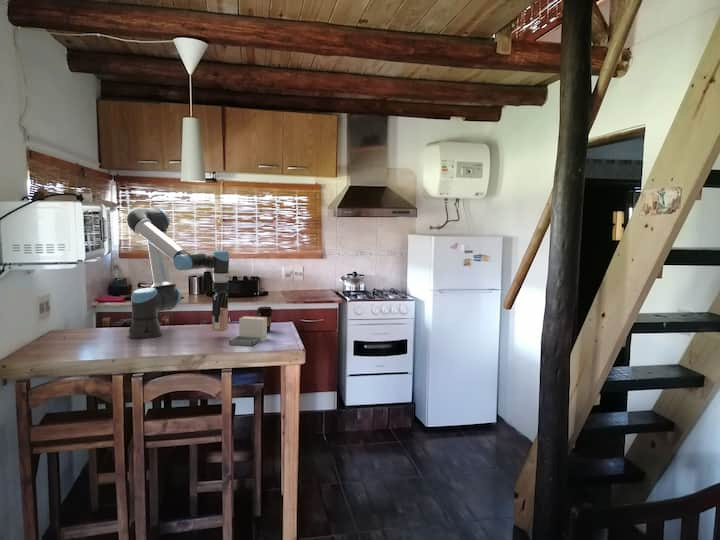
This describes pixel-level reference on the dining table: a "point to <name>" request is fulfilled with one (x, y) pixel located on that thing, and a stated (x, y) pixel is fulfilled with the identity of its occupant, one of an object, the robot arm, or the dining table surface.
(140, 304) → the robot arm
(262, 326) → the boxy square-sided block
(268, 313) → the coffee cup
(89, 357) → the dining table surface
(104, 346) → the dining table surface
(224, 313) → the stub
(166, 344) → the dining table surface
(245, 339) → the tray
